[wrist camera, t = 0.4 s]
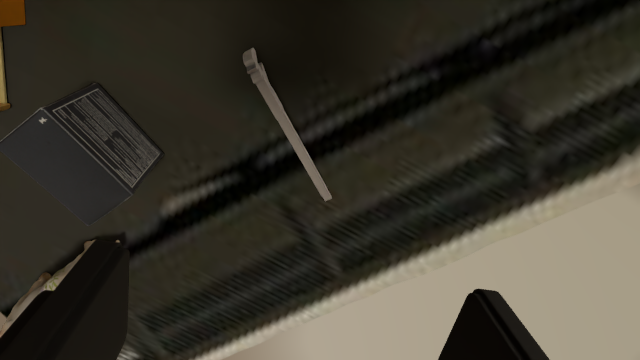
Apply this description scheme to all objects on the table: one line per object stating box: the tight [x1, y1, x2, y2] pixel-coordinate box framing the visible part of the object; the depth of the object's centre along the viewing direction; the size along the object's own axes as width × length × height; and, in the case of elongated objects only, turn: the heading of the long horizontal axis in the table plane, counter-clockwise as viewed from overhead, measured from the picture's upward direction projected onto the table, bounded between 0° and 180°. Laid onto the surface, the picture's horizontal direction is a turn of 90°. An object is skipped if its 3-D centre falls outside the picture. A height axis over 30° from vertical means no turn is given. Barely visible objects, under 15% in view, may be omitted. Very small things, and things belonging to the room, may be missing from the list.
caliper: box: [243, 48, 332, 201], centre depth 43 cm, size 20×1×6 cm, turn 25°
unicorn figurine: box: [0, 240, 120, 337], centre depth 45 cm, size 7×20×13 cm, turn 144°
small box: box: [0, 83, 164, 226], centre depth 39 cm, size 11×6×10 cm, turn 34°
